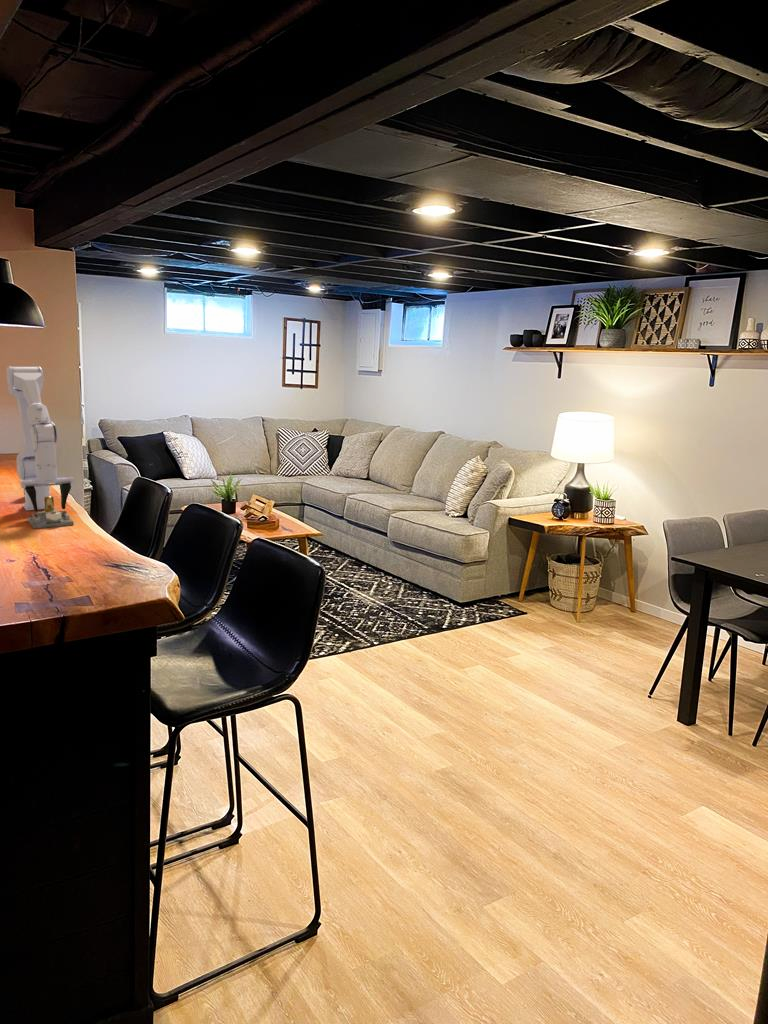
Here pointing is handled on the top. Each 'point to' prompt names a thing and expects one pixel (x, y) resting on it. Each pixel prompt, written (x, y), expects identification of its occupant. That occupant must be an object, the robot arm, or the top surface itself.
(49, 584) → the top surface
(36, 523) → the carrier
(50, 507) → the planet gear
